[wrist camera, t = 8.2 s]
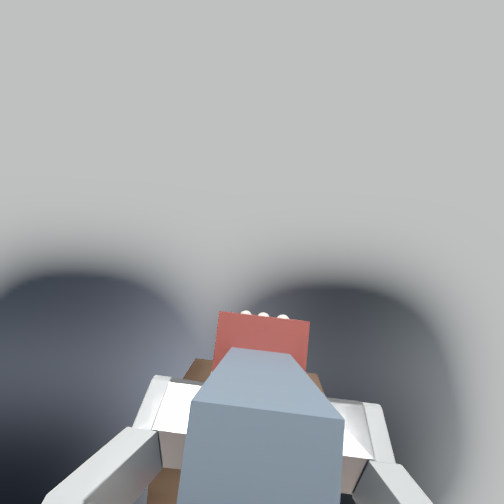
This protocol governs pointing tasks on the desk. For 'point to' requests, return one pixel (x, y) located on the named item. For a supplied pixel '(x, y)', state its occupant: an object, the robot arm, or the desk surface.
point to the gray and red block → (261, 421)
